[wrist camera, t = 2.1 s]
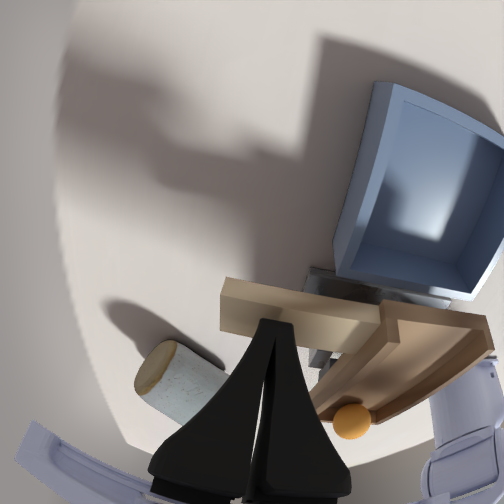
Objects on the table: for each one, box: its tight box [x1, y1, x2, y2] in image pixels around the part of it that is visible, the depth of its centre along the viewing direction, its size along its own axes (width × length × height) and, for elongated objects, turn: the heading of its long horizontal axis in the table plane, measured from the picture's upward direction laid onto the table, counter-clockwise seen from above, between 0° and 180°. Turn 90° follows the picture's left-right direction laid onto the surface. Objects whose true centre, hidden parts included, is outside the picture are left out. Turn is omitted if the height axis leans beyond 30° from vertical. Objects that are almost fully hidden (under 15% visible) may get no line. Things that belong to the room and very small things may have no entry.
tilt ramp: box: [220, 277, 495, 425], centre depth 16 cm, size 14×14×5 cm
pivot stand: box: [302, 267, 452, 369], centre depth 18 cm, size 12×6×5 cm, turn 83°
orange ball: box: [333, 403, 371, 439], centre depth 18 cm, size 3×3×3 cm
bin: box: [333, 81, 504, 302], centre depth 13 cm, size 10×10×4 cm
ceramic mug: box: [134, 340, 230, 426], centre depth 27 cm, size 11×8×8 cm
